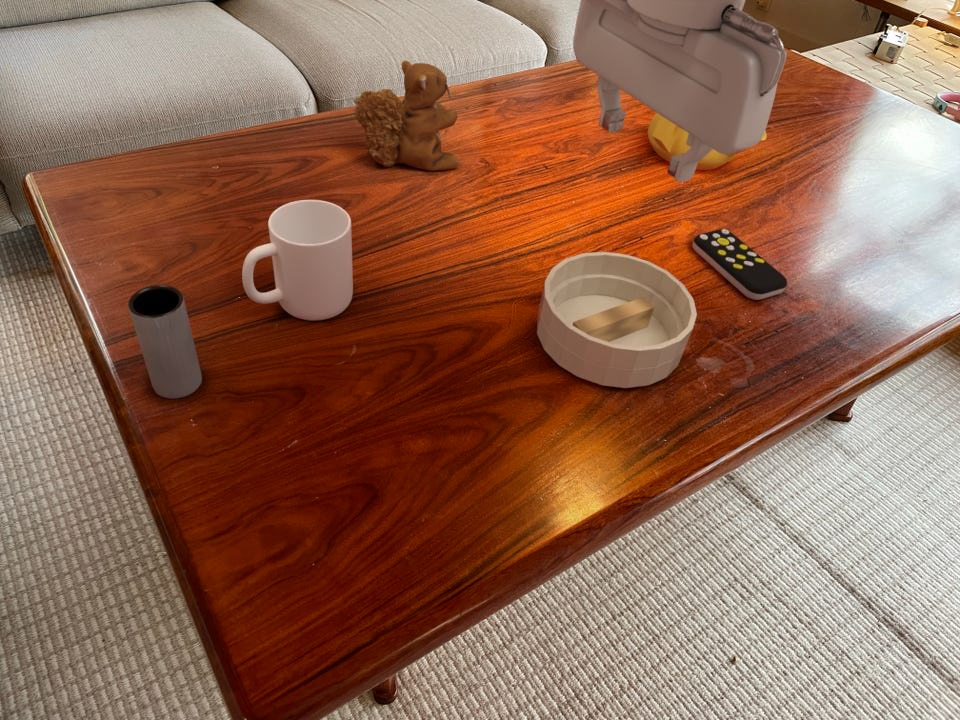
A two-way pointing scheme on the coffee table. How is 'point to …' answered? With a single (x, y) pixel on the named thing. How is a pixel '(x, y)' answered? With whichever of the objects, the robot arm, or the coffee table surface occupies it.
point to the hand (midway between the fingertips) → (642, 152)
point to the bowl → (603, 286)
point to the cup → (306, 260)
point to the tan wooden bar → (617, 320)
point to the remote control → (739, 264)
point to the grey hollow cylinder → (166, 340)
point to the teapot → (681, 143)
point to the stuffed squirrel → (409, 120)
